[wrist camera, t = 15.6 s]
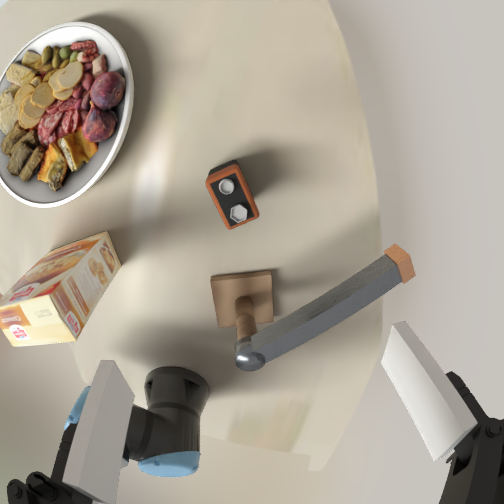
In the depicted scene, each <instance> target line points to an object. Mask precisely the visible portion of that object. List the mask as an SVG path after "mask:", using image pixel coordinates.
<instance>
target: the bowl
mask: <svg viewBox="0 0 504 504" xmlns="http://www.w3.org/2000/svg"><path fill="white" fill-rule="evenodd" d="M133 100H134V83H133V75H132V70H131V66H130V62H129V60H128V57H127V55H126V53H125V51H124V49H123V47H122V46H121V44H120V43H119V42H118V41H117V40H116V38H115V37H114V36H112V35H111V34H110V33H109V32H108V31H106V30H105V29H103V28H101V27H99V26H97V25H95V24H91V23H87V22H68V23H63V24H59V25H56V26H53V27H51V28H49V29H47V30H45V31H43V32H41V33H40V34H38V35H37V36H35V37H34V38H33V39H31V40H30V41H29V42H28V43H26V44H25V45H24V46H23V47H22V48H21V49H20V50H19V51H18V53H17V54H16V55H15V56H14V57H13V59H12V60H11V61H10V63H9V64H8V66H7V67H6V69H5V70H4V72H3V74H2V76H1V77H0V182H1V184H2V185H3V186H4V188H5V189H6V190H7V191H8V192H9V193H10V194H11V195H12V196H13V197H15V198H16V199H17V200H19V201H21V202H23V203H25V204H27V205H30V206H34V207H39V208H50V207H56V206H60V205H63V204H66V203H68V202H70V201H72V200H74V199H76V198H77V197H79V196H80V195H82V194H83V193H85V192H86V191H87V190H89V189H90V188H91V187H92V186H93V185H94V184H95V183H96V182H97V181H98V180H99V179H100V178H101V177H102V176H103V175H104V173H105V172H106V171H107V169H108V168H109V167H110V165H111V164H112V162H113V161H114V159H115V157H116V156H117V154H118V152H119V150H120V148H121V146H122V143H123V141H124V139H125V136H126V133H127V130H128V127H129V123H130V119H131V115H132V109H133Z"/></svg>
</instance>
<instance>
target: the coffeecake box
mask: <svg viewBox="0 0 504 504" xmlns="http://www.w3.org/2000/svg"><path fill="white" fill-rule="evenodd" d="M120 267H121V264H120V261H119V259H118V257H117V254H116V252H115V250H114V247H113V244H112V241H111V239H110V236H109V234H108V231H105V232H102V233H99V234H96V235H93V236H90V237H87V238H85V239H82V240H79V241H76V242H73V243H71V244H68V245H66V246H63V247H60V248H58V249H55V250H53V251H50V252H48V253H47V254H46V255H45V256H44V257H43V258H42V259H41V260H40V261H39V262H38V263H36V264H35V265H34V266H33V267H32V268H31V269H30V270H29V271H28V272H27V273H26V274H25V275H24V276H23V277H22V278H21V279H20V280H19V281H18V282H17V283H16V284H15V285H14V286H13V287H12V288H11V289H10V290H9V291H8V292H7V293H6V294H5V295H4V296H3V297H2V298H1V299H0V327H1V329H2V330H3V332H4V333H5V335H6V336H7V338H8V339H9V341H10V342H11V344H12V345H13V346H14V347H15V346H31V345H42V344H52V343H62V342H71V341H77V338H78V336H79V335H80V333H81V331H82V329H83V327H84V326H85V324H86V322H87V321H88V319H89V317H90V315H91V314H92V312H93V310H94V309H95V307H96V305H97V304H98V302H99V300H100V299H101V297H102V295H103V294H104V292H105V291H106V289H107V287H108V286H109V284H110V283H111V281H112V280H113V278H114V276H115V275H116V273H117V272H118V270H119V269H120Z"/></svg>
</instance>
